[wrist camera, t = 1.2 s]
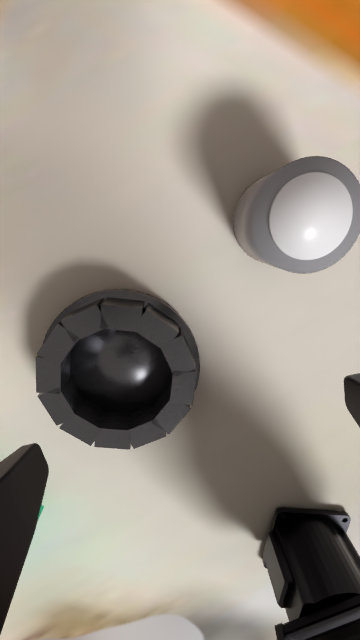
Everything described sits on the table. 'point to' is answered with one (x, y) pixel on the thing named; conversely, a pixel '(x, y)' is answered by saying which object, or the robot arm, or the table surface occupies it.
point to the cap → (300, 215)
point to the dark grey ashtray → (118, 369)
